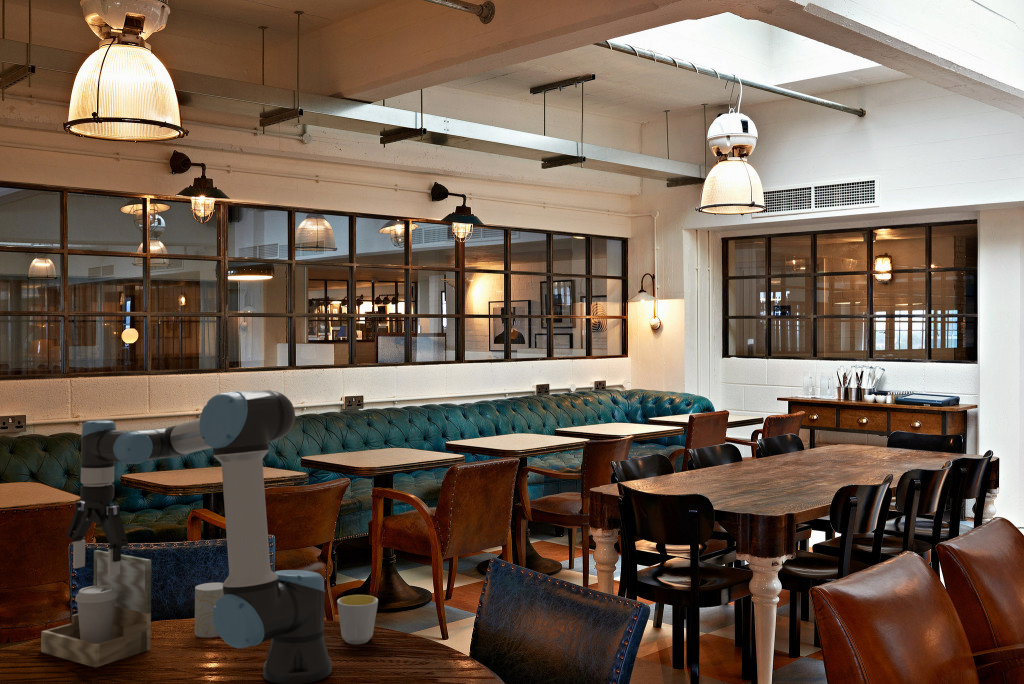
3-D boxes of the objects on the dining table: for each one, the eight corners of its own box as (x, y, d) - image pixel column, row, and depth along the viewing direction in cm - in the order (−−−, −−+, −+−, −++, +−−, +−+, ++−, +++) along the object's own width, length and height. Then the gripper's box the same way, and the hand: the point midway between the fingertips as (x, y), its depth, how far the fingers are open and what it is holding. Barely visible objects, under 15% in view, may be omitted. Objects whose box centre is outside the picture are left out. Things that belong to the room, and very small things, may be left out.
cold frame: (154, 648, 228) (155, 558, 228) (95, 667, 214) (96, 572, 214) (101, 634, 239) (101, 549, 239) (41, 652, 225) (42, 561, 225)
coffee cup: (101, 658, 220) (101, 595, 221) (65, 655, 222) (66, 593, 222) (125, 646, 230) (126, 585, 230) (91, 643, 232) (91, 583, 232)
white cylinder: (188, 635, 239) (188, 588, 239) (207, 626, 246) (207, 581, 247) (215, 638, 236) (215, 591, 236) (233, 629, 244) (234, 583, 244)
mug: (373, 647, 230) (374, 605, 230) (332, 647, 230) (333, 604, 230) (383, 631, 243) (383, 591, 243) (344, 630, 244) (344, 590, 244)
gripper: (144, 486, 223) (142, 574, 223) (80, 477, 236) (78, 561, 236) (116, 490, 217) (115, 581, 217) (52, 481, 230) (50, 567, 230)
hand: (96, 571), depth 226 cm, fingers open, 13 cm apart
